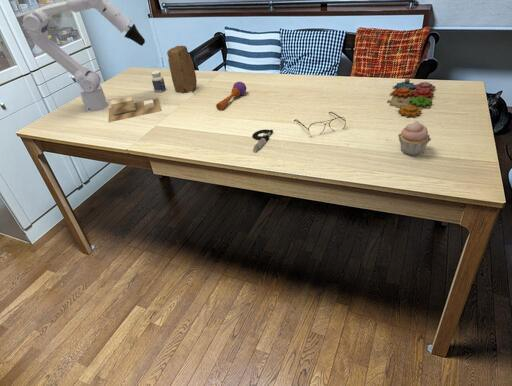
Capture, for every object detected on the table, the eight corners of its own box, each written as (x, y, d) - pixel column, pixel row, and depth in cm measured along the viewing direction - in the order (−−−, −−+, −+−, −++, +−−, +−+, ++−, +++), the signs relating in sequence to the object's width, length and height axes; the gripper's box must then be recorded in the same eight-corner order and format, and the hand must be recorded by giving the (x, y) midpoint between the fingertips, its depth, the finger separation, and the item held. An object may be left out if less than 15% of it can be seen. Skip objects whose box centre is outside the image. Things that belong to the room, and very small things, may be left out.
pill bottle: (165, 94, 174) (160, 73, 168) (154, 95, 175) (148, 74, 169) (167, 89, 179) (162, 69, 173) (156, 90, 179) (151, 70, 173)
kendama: (211, 101, 152) (235, 79, 165) (216, 113, 156) (239, 92, 168) (222, 100, 149) (246, 78, 162) (227, 113, 152) (250, 91, 165)
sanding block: (114, 115, 157) (110, 104, 154) (114, 111, 160) (110, 100, 157) (136, 111, 159) (132, 100, 156) (135, 107, 162) (132, 96, 159)
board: (109, 124, 153) (108, 122, 152) (109, 110, 165) (108, 108, 164) (162, 113, 157) (161, 110, 156) (158, 99, 169) (158, 97, 169)
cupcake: (420, 141, 118) (426, 112, 112) (433, 156, 111) (439, 126, 105) (391, 144, 118) (395, 115, 112) (401, 159, 111) (406, 130, 105)
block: (186, 96, 170) (176, 51, 158) (173, 94, 173) (163, 50, 161) (200, 87, 177) (192, 44, 165) (188, 85, 180) (179, 43, 168)
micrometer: (257, 130, 136) (256, 124, 135) (275, 133, 133) (274, 126, 132) (238, 150, 126) (237, 144, 124) (257, 153, 123) (256, 147, 121)
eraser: (145, 108, 160) (144, 104, 158) (144, 105, 163) (143, 101, 161) (154, 106, 160) (153, 102, 159) (153, 103, 163) (152, 99, 162)
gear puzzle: (429, 121, 129) (431, 110, 127) (381, 117, 135) (382, 106, 133) (435, 87, 151) (437, 78, 149) (393, 85, 157) (394, 76, 155)
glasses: (308, 138, 128) (307, 124, 125) (293, 125, 141) (292, 112, 138) (346, 129, 130) (346, 116, 128) (328, 117, 143) (328, 105, 140)
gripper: (120, 9, 139) (150, 37, 146) (122, 8, 152) (149, 34, 159) (109, 24, 141) (138, 50, 147) (111, 22, 153) (138, 46, 160)
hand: (143, 43), depth 153 cm, fingers open, 7 cm apart
